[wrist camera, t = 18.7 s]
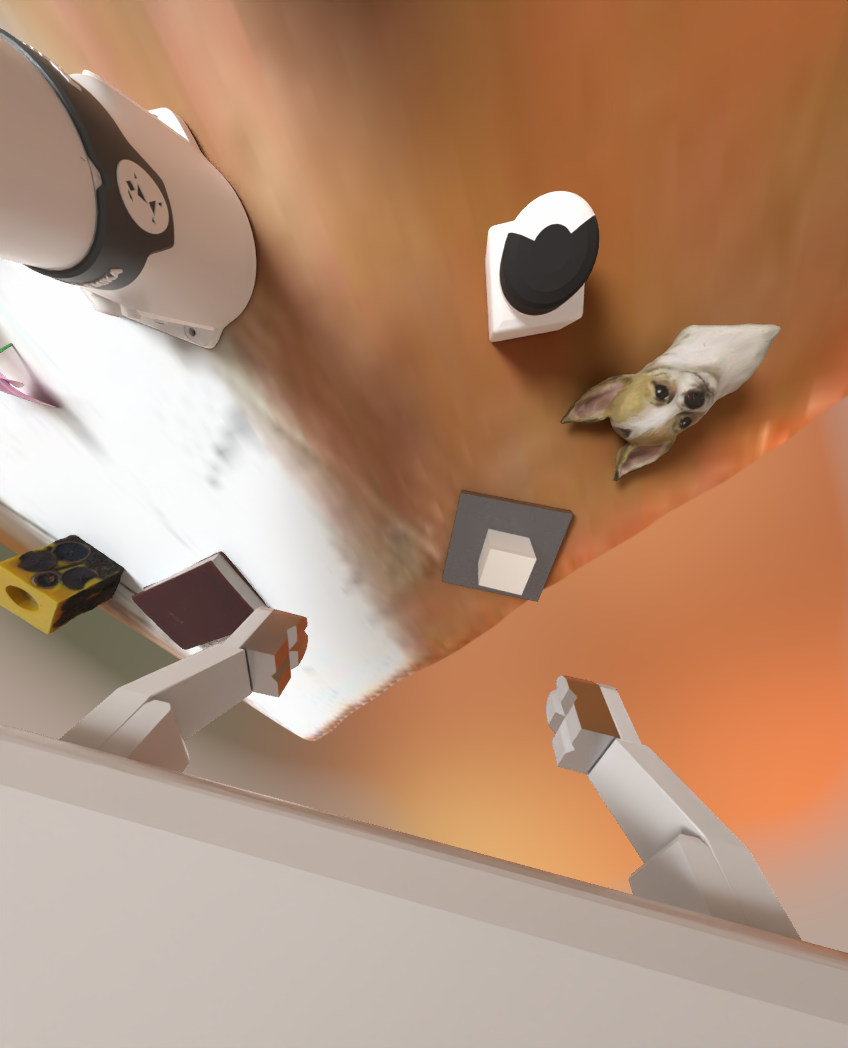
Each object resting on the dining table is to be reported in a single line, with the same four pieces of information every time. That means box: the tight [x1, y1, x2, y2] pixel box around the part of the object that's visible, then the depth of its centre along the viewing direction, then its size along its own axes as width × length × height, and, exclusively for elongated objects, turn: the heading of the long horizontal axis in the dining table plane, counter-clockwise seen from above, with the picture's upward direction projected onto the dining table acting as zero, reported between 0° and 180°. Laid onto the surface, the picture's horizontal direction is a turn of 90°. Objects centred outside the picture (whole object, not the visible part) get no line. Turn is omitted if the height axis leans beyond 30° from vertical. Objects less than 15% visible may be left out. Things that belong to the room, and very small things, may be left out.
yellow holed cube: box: [0, 535, 123, 634], centre depth 52 cm, size 10×10×10 cm
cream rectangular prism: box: [478, 529, 536, 595], centre depth 39 cm, size 5×5×5 cm
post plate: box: [442, 490, 573, 602], centre depth 40 cm, size 14×14×5 cm
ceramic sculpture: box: [560, 324, 780, 482], centre depth 29 cm, size 11×9×15 cm
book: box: [132, 552, 269, 650], centre depth 55 cm, size 14×22×4 cm, turn 116°
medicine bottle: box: [485, 191, 599, 342], centre depth 25 cm, size 7×7×12 cm
